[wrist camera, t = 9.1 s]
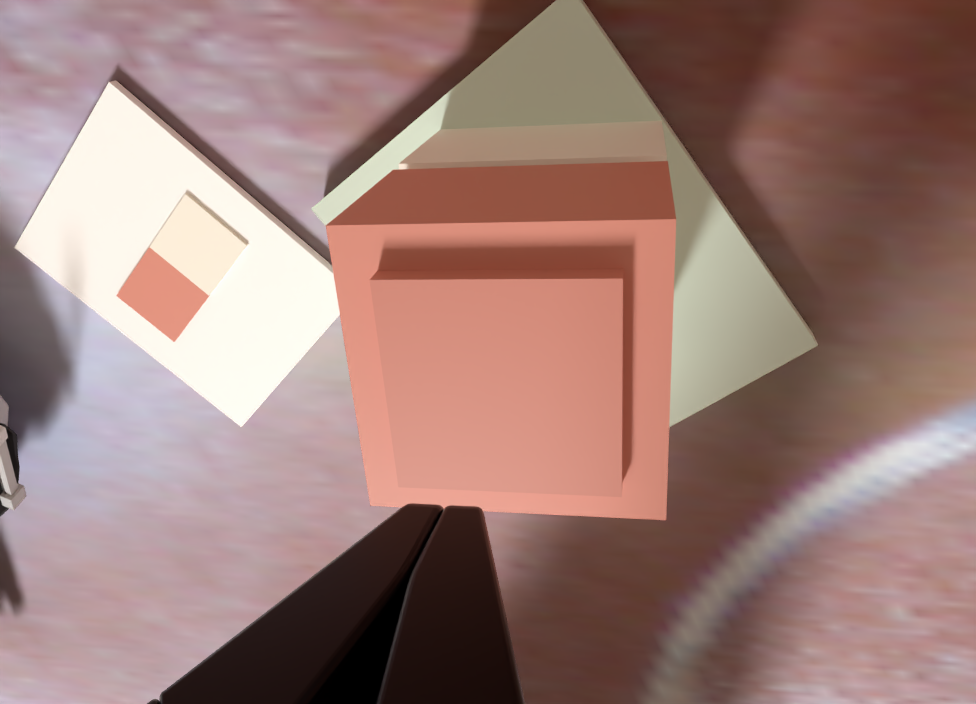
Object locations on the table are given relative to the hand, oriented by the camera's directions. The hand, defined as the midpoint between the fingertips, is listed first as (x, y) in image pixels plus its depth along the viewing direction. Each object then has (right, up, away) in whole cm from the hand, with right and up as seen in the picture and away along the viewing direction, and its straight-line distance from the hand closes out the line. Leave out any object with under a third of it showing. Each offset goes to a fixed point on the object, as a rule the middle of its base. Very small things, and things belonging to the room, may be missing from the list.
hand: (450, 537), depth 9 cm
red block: (+1, +3, +7) cm, 8 cm away
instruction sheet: (-8, +4, +13) cm, 16 cm away
